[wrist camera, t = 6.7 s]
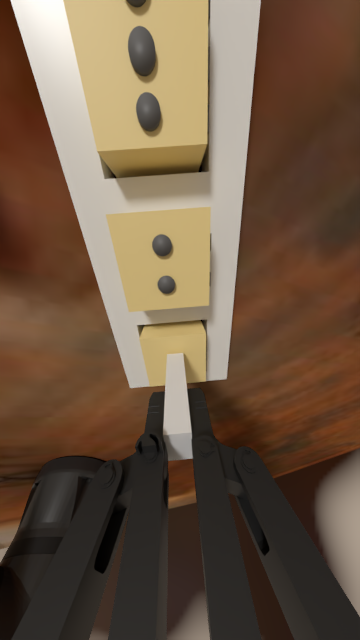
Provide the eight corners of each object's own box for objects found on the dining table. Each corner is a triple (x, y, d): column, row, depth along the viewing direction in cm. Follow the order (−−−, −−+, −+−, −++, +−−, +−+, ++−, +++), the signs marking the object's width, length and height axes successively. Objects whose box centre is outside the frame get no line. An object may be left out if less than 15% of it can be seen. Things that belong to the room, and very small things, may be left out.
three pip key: (199, 174, 11) (211, 141, 8) (118, 179, 11) (95, 148, 8) (198, 38, 9) (215, -98, 5) (92, 44, 8) (41, -90, 5)
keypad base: (220, 365, 20) (226, 379, 18) (134, 372, 20) (130, 388, 18) (243, -6, 9) (269, -99, 6) (35, 5, 8) (-16, -86, 6)
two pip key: (202, 293, 14) (212, 306, 11) (138, 298, 14) (128, 313, 11) (202, 218, 12) (214, 205, 8) (123, 224, 11) (104, 213, 8)
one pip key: (201, 359, 19) (208, 382, 16) (153, 363, 19) (149, 388, 15) (201, 317, 16) (208, 334, 13) (145, 321, 16) (138, 340, 13)
